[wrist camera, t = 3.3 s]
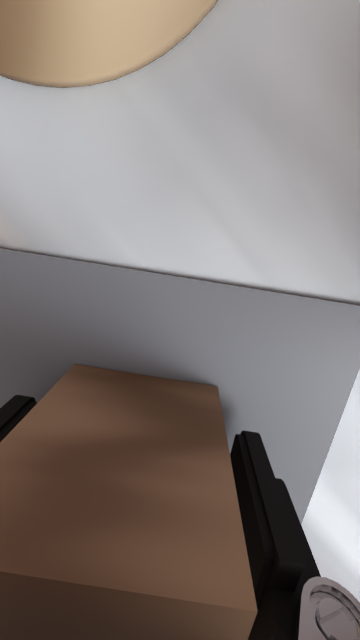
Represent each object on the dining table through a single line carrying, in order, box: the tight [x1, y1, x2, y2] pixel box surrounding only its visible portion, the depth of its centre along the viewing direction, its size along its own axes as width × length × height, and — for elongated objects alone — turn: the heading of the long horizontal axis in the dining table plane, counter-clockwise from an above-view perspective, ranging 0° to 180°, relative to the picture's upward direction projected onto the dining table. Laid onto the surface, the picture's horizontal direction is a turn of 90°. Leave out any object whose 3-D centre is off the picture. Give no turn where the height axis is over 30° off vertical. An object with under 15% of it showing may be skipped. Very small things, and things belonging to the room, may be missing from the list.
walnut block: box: [0, 364, 258, 640], centre depth 7 cm, size 5×5×6 cm
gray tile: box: [0, 248, 360, 524], centre depth 10 cm, size 14×12×1 cm
